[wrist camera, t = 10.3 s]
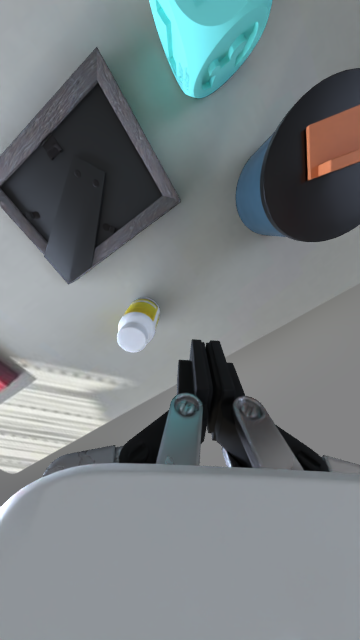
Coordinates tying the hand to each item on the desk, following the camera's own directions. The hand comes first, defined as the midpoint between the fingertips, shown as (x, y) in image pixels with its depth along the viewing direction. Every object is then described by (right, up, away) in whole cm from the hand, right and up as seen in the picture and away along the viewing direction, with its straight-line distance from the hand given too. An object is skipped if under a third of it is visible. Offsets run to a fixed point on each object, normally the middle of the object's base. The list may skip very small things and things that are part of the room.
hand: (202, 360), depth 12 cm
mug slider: (+11, +17, +4) cm, 20 cm away
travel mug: (+12, +20, +14) cm, 27 cm away
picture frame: (-14, +20, +15) cm, 29 cm away
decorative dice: (+1, +32, +9) cm, 33 cm away
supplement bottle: (-8, +4, +22) cm, 24 cm away
